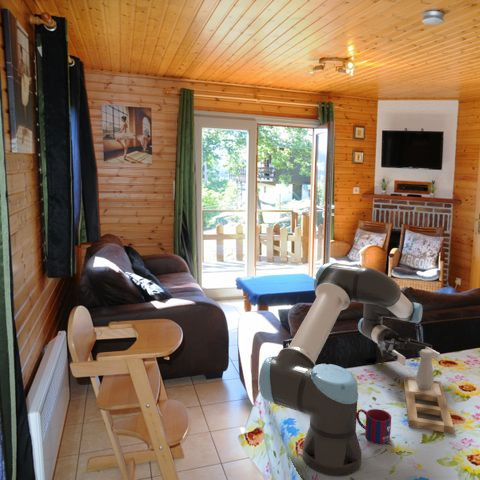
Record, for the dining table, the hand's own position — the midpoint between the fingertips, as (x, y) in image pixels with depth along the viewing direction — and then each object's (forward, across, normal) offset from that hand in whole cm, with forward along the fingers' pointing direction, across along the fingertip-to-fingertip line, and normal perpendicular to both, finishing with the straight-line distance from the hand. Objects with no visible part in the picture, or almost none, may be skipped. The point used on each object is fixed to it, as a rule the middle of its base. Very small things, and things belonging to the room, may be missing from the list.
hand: (421, 359), depth 152 cm
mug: (+20, +30, -12) cm, 38 cm away
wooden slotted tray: (+10, +5, -11) cm, 16 cm away
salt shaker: (+2, 0, -9) cm, 9 cm away
